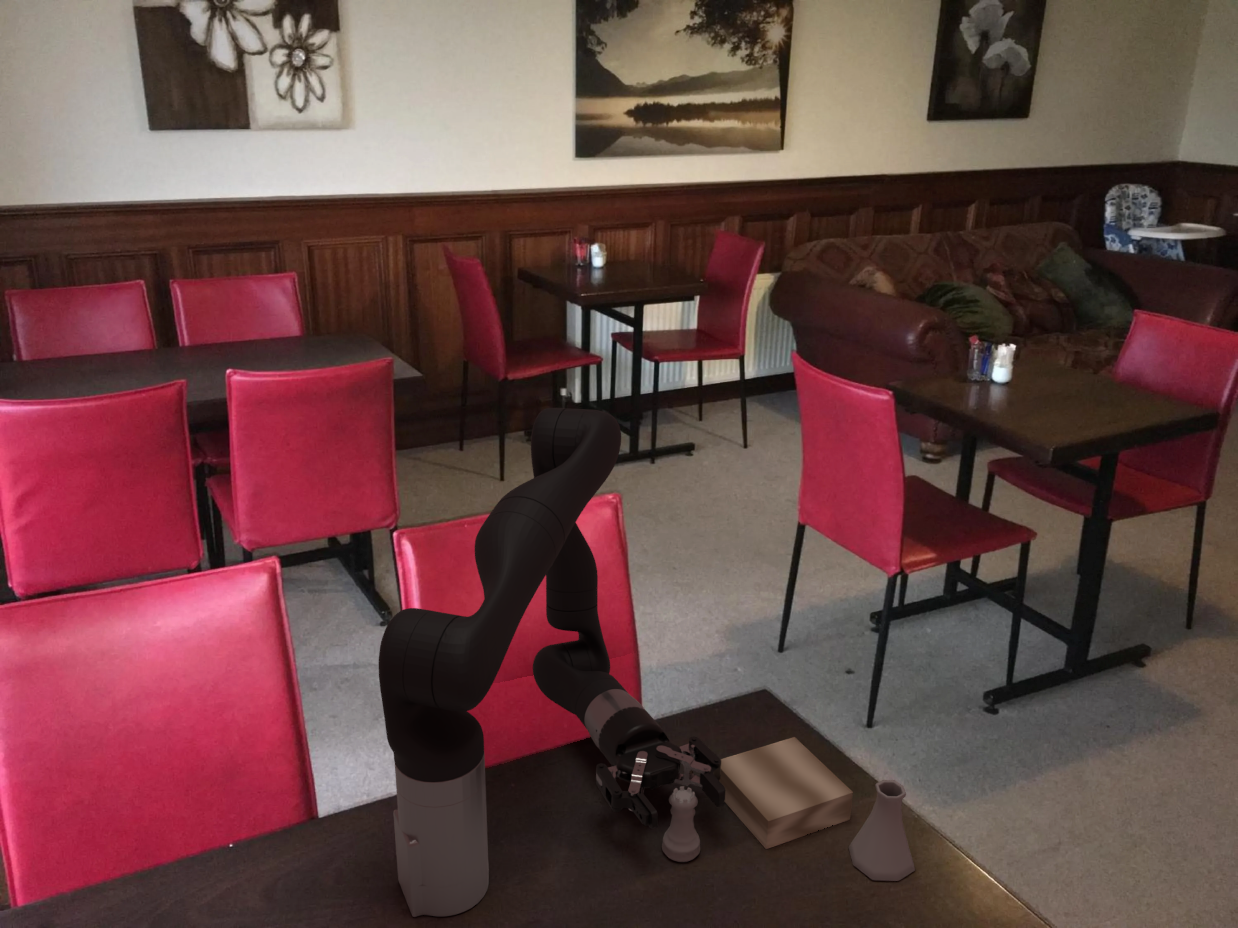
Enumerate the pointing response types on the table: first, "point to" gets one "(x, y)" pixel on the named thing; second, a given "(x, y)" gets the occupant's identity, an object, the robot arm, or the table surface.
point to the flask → (883, 837)
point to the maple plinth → (783, 792)
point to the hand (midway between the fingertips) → (689, 810)
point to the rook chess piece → (682, 827)
